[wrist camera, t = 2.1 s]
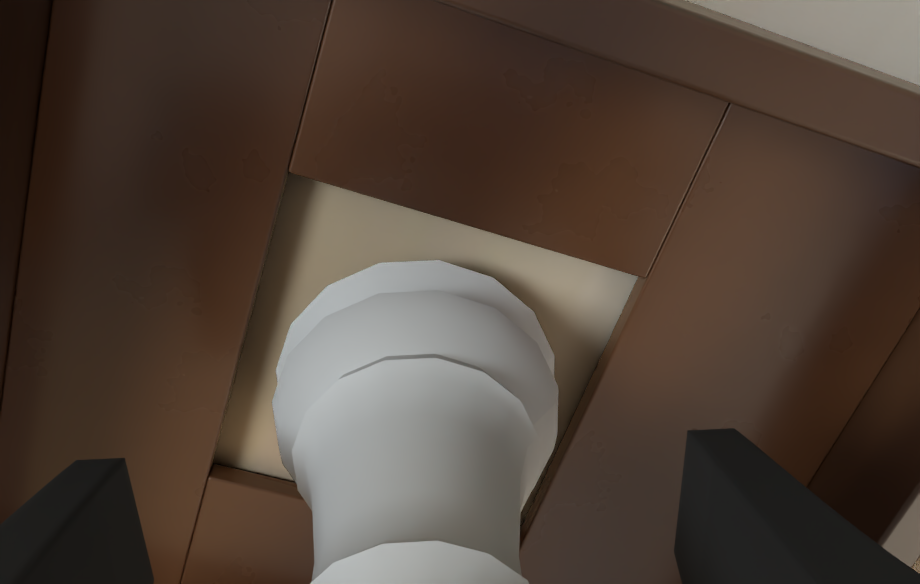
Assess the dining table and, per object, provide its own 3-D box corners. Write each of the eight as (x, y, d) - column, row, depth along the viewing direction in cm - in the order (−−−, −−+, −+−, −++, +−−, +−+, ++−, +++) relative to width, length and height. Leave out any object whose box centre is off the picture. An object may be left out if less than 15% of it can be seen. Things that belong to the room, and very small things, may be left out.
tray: (1062, 138, 13) (1190, 192, 11) (670, 740, 19) (703, 854, 16) (21, -242, 10) (-84, -271, 8) (-64, 598, 16) (-140, 713, 14)
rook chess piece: (523, 216, 13) (652, 643, 6) (573, 448, 15) (715, 978, 8) (240, 282, 13) (37, 765, 6) (326, 502, 15) (247, 1061, 8)
